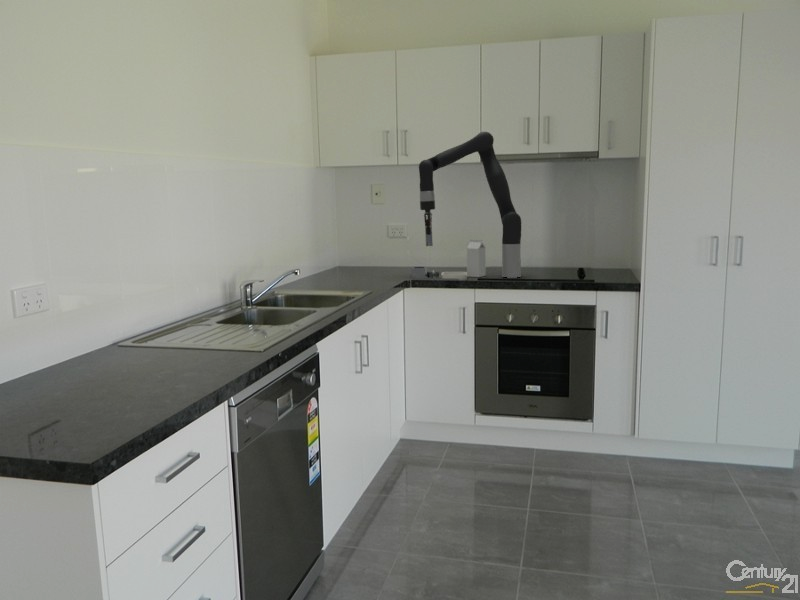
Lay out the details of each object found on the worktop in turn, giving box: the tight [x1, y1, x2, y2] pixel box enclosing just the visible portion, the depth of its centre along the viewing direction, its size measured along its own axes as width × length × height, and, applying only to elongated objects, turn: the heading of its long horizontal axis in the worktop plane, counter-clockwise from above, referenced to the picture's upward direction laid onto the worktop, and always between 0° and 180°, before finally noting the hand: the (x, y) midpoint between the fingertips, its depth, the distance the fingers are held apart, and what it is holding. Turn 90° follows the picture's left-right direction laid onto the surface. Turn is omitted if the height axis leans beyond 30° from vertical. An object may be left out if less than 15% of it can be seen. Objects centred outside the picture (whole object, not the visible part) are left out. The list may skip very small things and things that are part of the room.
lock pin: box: [424, 221, 433, 247], centre depth 342 cm, size 3×3×12 cm
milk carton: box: [466, 239, 486, 278], centre depth 350 cm, size 7×7×19 cm
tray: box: [440, 271, 468, 282], centre depth 343 cm, size 13×12×3 cm
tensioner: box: [411, 266, 441, 279], centre depth 345 cm, size 14×10×6 cm
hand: (428, 234), depth 342 cm, fingers closed on lock pin, 3 cm apart
